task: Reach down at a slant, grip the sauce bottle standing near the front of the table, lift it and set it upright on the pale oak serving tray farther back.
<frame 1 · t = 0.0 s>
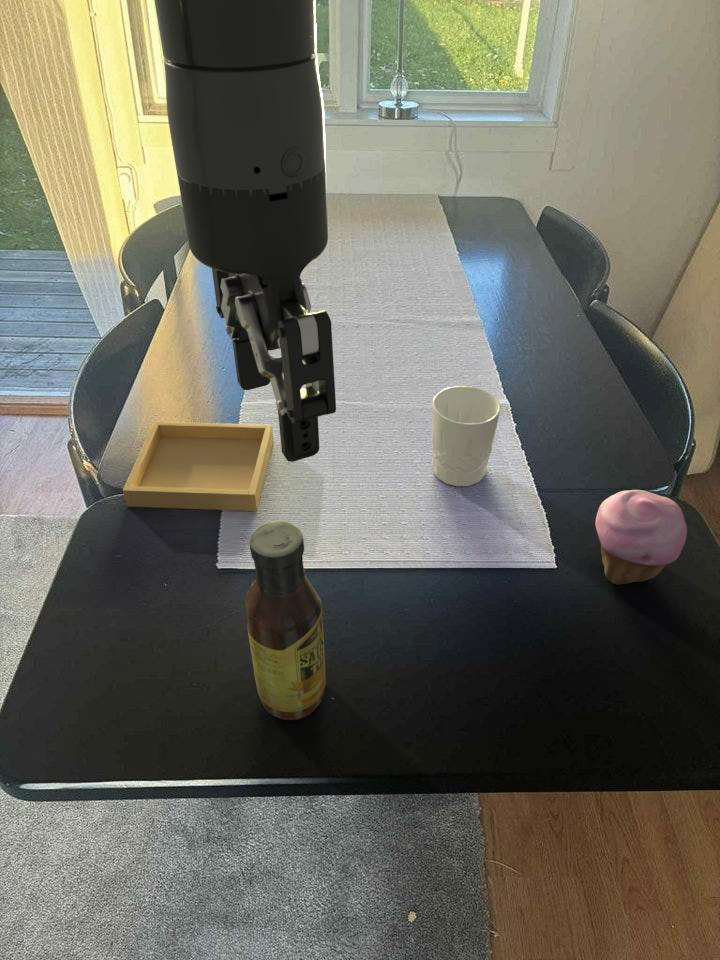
hand: (276, 418, 46), 30 cm above the table, tool pointing down, fingers open, 8 cm apart
cupcake: (624, 571, 76), on the table
serving tray: (204, 471, 88), on the table
sauce bottle: (293, 692, 65), on the table
white cup: (458, 470, 88), on the table
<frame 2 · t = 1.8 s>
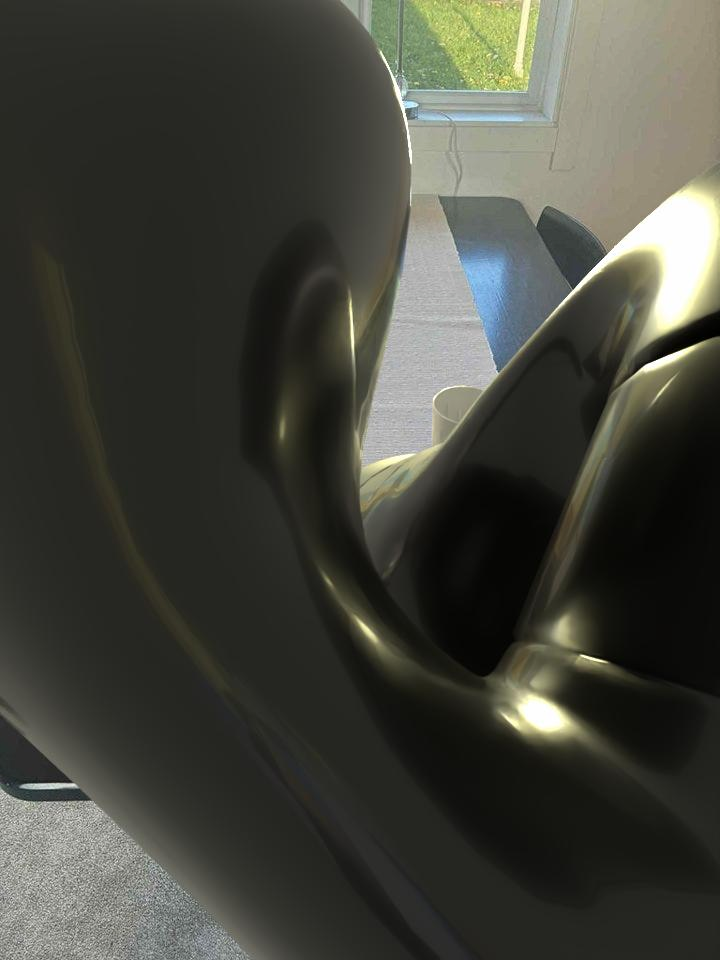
hand: (313, 569, 38), 29 cm above the table, tool tilted 45°, fingers open, 8 cm apart
nothing on the table moved.
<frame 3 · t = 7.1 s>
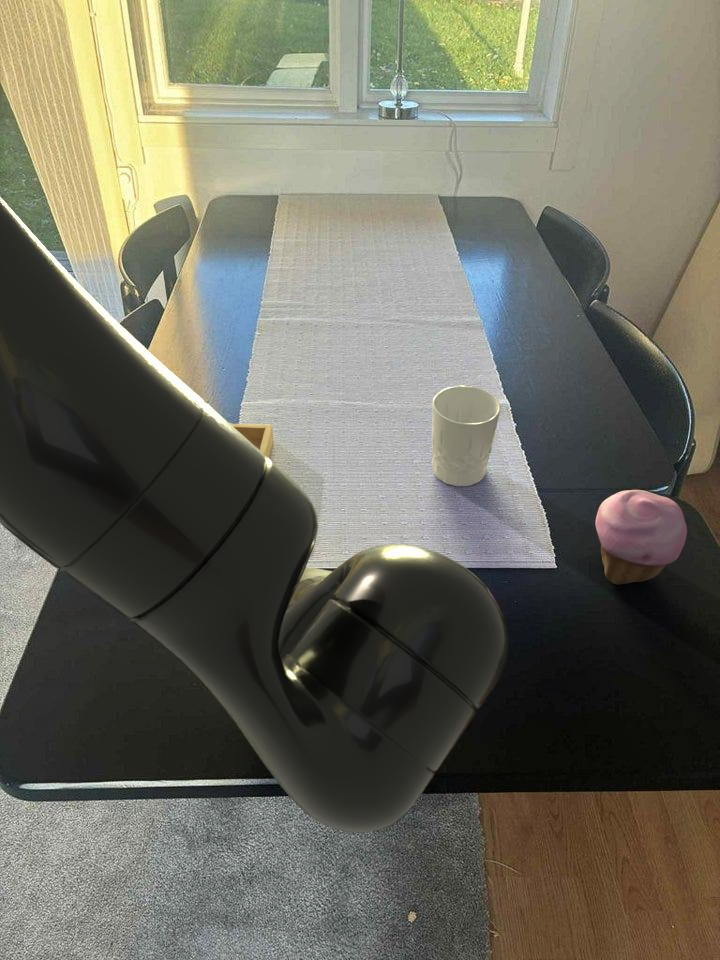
hand: (280, 607, 59), 10 cm above the table, tool tilted 45°, fingers closed on sauce bottle, 6 cm apart
sauce bottle: (293, 692, 65), on the table, touching gripper
everything else where it was.
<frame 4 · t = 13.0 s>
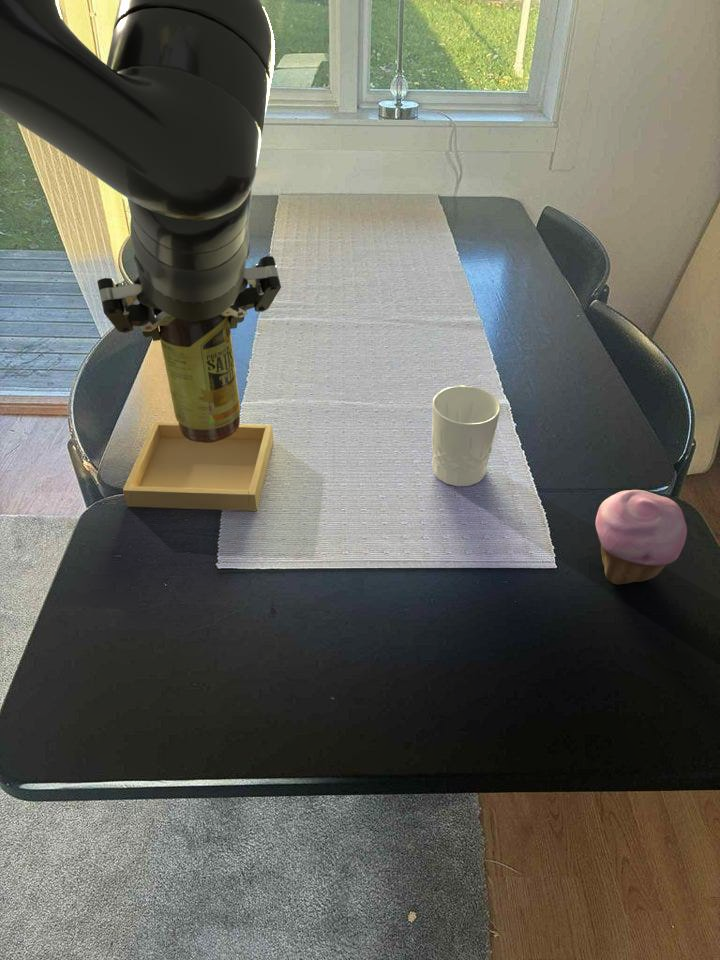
hand: (192, 324, 64), 26 cm above the table, tool tilted 45°, fingers closed on sauce bottle, 6 cm apart
sauce bottle: (211, 427, 69), point 15 cm above the table, touching gripper
everything else where it was.
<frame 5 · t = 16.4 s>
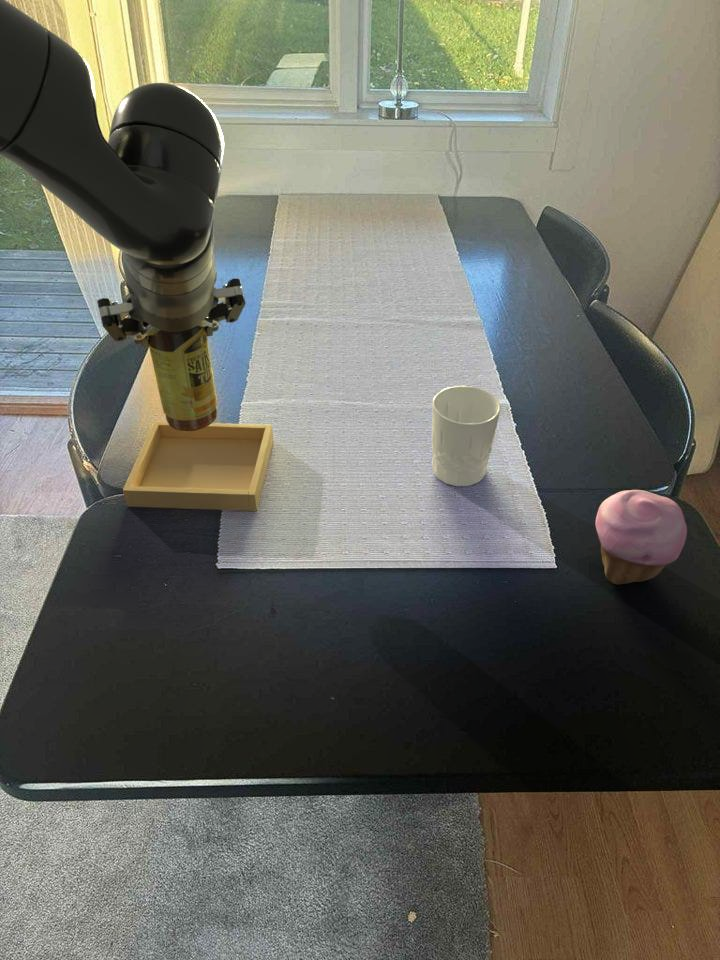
hand: (175, 332, 77), 19 cm above the table, tool tilted 45°, fingers closed on sauce bottle, 6 cm apart
sauce bottle: (193, 419, 82), point 8 cm above the table, touching gripper
everything else where it was.
when the fingers open (11 cm above the table, at t = 19.1 s): sauce bottle stays where it is, resting on serving tray.
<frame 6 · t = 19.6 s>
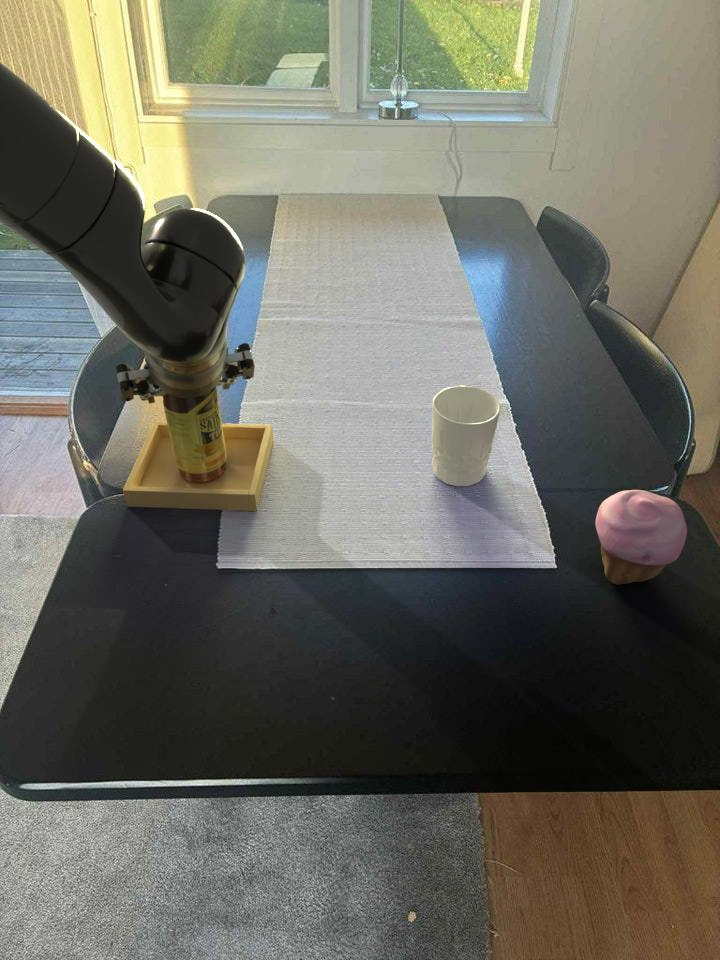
hand: (187, 387, 81), 12 cm above the table, tool tilted 45°, fingers open, 8 cm apart
sauce bottle: (203, 470, 88), resting on serving tray
everything else where it was.
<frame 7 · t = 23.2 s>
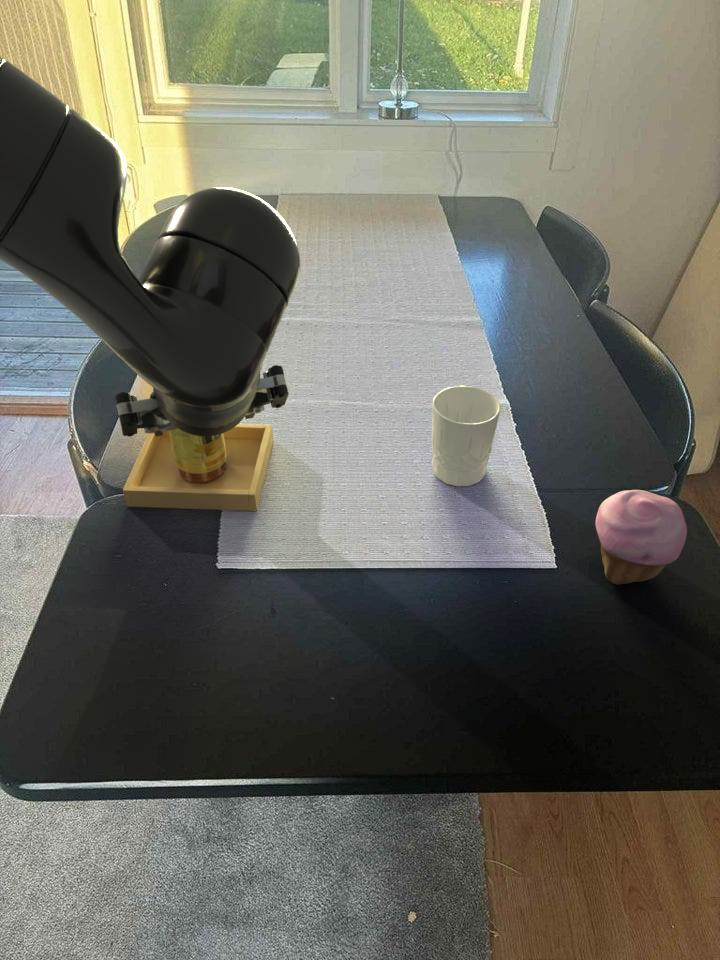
hand: (202, 416, 67), 18 cm above the table, tool tilted 45°, fingers open, 8 cm apart
nothing on the table moved.
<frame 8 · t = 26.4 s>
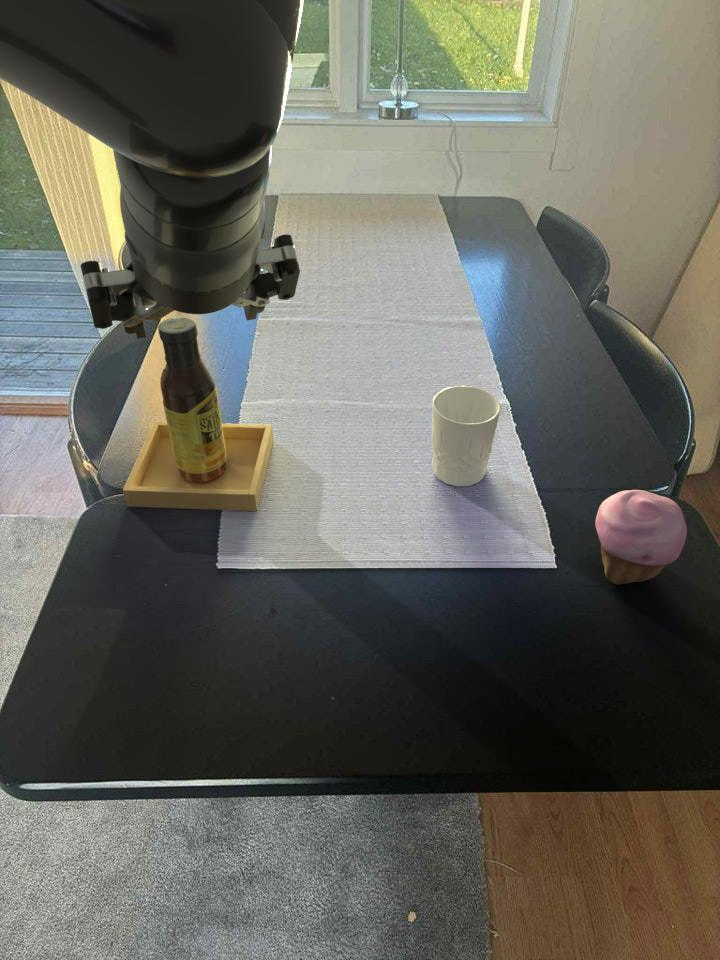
hand: (194, 316, 55), 31 cm above the table, tool tilted 45°, fingers open, 8 cm apart
nothing on the table moved.
at the end: sauce bottle inside the target area in the serving tray (0.1 cm from its centre), point 0.4 cm above the serving tray's base; sauce bottle tilted 0°; the gripper is holding nothing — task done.
